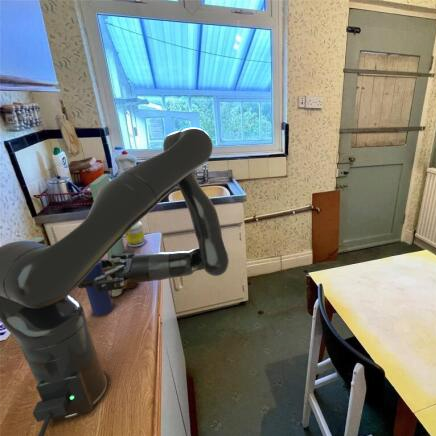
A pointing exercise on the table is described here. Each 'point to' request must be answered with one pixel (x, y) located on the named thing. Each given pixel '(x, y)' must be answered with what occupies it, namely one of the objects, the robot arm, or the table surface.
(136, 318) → the table surface
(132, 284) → the fruit
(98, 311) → the t-handle plunger
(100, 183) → the green panel
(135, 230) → the pill bottle
